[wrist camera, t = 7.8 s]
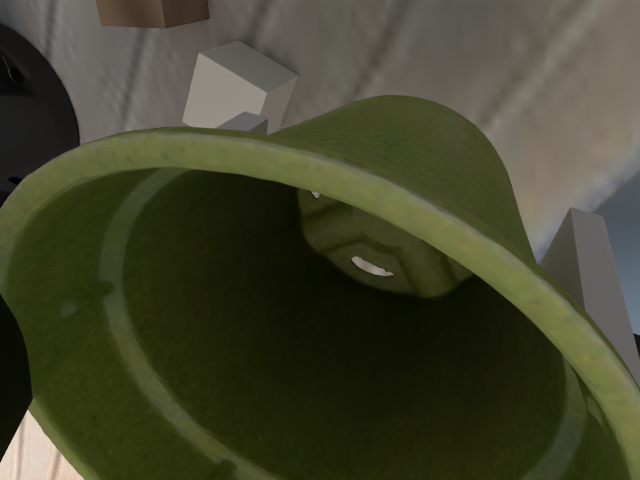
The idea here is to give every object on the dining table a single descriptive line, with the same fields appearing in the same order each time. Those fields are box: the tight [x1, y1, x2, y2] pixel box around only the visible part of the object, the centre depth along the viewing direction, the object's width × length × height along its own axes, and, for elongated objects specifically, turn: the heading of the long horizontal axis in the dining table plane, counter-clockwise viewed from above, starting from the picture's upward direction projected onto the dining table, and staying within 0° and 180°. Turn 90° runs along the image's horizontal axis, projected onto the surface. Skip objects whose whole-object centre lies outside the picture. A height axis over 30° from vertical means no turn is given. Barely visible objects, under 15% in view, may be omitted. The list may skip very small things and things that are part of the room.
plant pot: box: [0, 95, 640, 480], centre depth 10 cm, size 9×9×9 cm
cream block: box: [182, 40, 299, 135], centre depth 32 cm, size 5×5×5 cm
